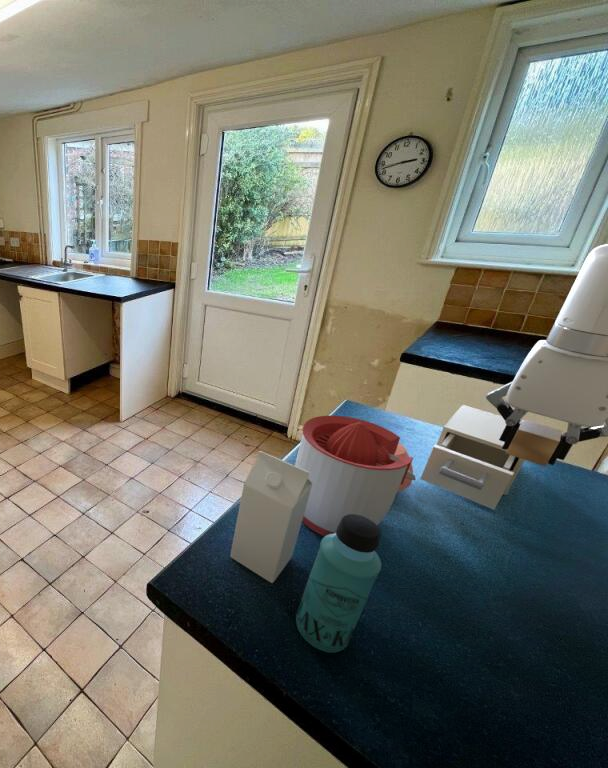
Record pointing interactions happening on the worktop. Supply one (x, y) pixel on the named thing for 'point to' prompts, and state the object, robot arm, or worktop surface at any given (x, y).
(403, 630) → the worktop surface
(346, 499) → the citrus juicer
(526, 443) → the block
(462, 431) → the cabinet
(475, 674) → the worktop surface
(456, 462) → the drawer
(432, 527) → the worktop surface
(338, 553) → the beverage bottle
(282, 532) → the milk carton
